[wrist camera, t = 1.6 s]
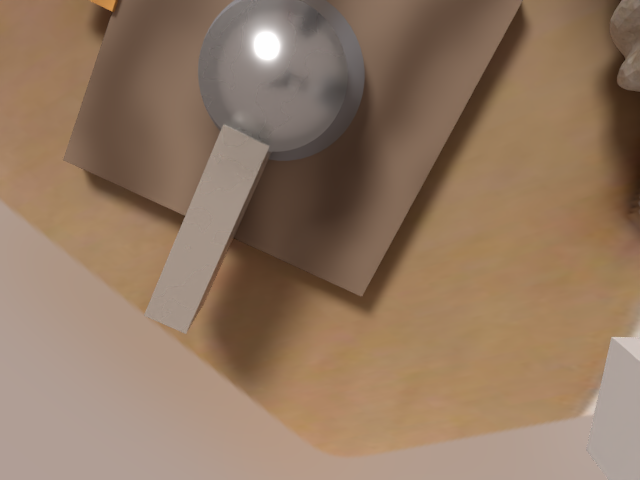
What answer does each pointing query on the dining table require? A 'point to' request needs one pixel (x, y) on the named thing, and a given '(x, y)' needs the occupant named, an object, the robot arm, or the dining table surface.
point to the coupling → (248, 131)
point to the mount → (306, 161)
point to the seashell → (627, 42)
